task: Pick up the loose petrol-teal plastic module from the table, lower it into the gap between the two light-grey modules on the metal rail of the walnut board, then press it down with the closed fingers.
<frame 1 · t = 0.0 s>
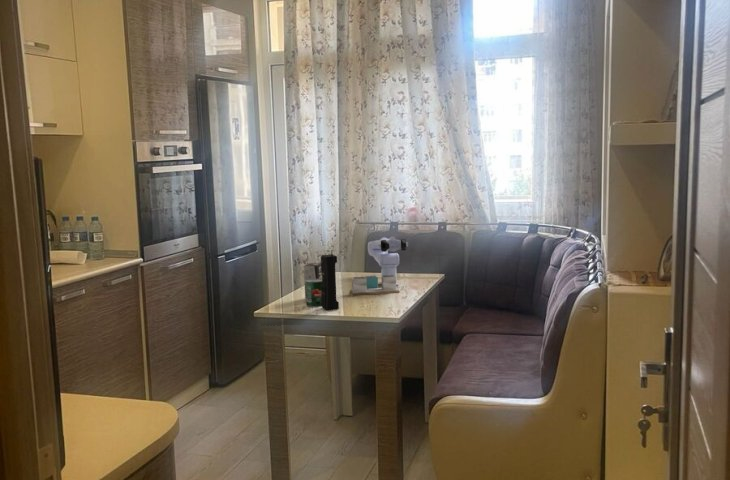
hand: (396, 245, 321), 22 cm above the table, tool horizontal, fingers open, 7 cm apart
module: (371, 289, 331), on the table
portable radio: (329, 309, 290), on the table
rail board: (374, 292, 323), on the table
canned tomato: (315, 305, 298), on the table
coffee box: (314, 299, 310), on the table
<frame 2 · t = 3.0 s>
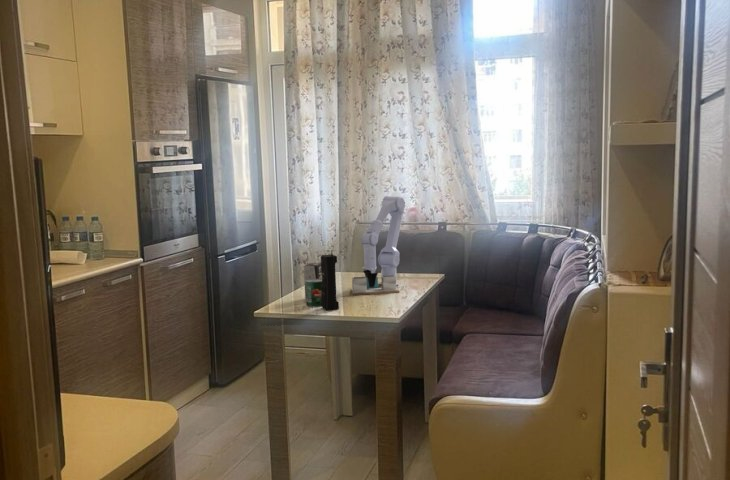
hand: (371, 285, 331), 2 cm above the table, tool pointing down, fingers closed on module, 4 cm apart
module: (371, 289, 331), on the table, touching gripper
everything else where it was.
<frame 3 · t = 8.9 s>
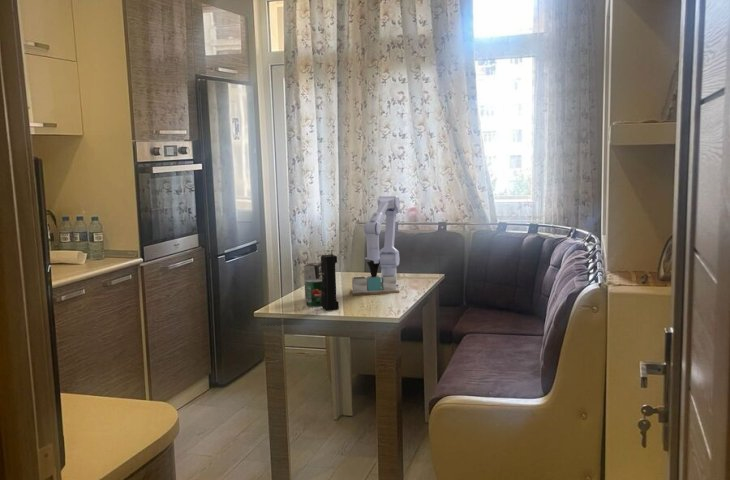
hand: (373, 276, 322), 7 cm above the table, tool pointing down, fingers closed, pressing on module
module: (373, 289, 323), point 1 cm above the table, touching gripper, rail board
everything else where it was.
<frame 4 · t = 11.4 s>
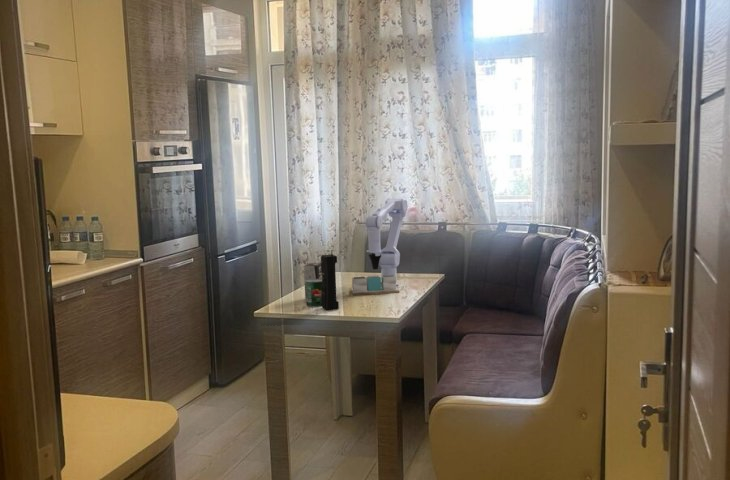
hand: (375, 269, 328), 10 cm above the table, tool pointing down, fingers closed
module: (373, 289, 323), point 1 cm above the table, touching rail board
everything else where it was.
at the end: module 0.2 cm off-centre on the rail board, point 1.2 cm above the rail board's base; module tilted 0°; the gripper is holding nothing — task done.
